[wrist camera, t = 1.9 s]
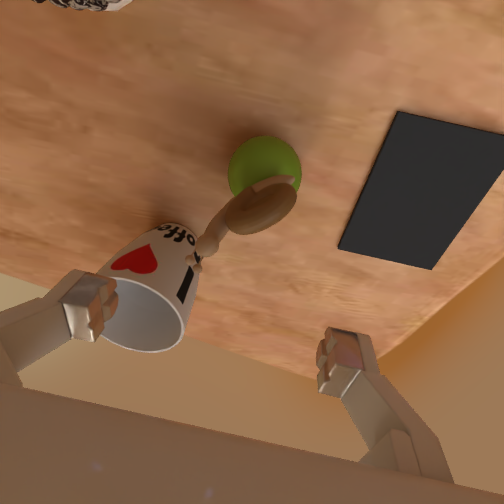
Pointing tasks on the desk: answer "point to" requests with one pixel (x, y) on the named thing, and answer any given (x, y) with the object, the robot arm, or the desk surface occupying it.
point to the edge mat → (422, 189)
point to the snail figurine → (253, 193)
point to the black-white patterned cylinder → (90, 4)
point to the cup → (152, 289)
